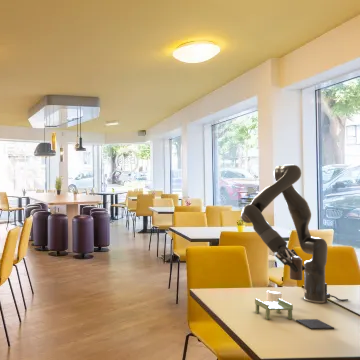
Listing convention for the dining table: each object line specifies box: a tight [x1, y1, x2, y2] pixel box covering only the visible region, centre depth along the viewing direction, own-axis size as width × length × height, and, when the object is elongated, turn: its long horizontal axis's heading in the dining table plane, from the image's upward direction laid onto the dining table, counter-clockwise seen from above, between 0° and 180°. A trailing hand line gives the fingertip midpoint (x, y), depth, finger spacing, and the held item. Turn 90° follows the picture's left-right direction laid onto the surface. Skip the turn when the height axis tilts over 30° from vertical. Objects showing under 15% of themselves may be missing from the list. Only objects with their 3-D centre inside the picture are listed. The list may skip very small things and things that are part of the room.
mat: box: [295, 318, 335, 330], centre depth 169 cm, size 10×10×1 cm
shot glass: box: [265, 289, 283, 302], centre depth 195 cm, size 7×7×7 cm
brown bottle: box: [289, 255, 303, 281], centre depth 174 cm, size 5×5×10 cm
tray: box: [254, 298, 294, 320], centre depth 180 cm, size 12×10×7 cm
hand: (300, 270), depth 172 cm, fingers closed on brown bottle, 5 cm apart
